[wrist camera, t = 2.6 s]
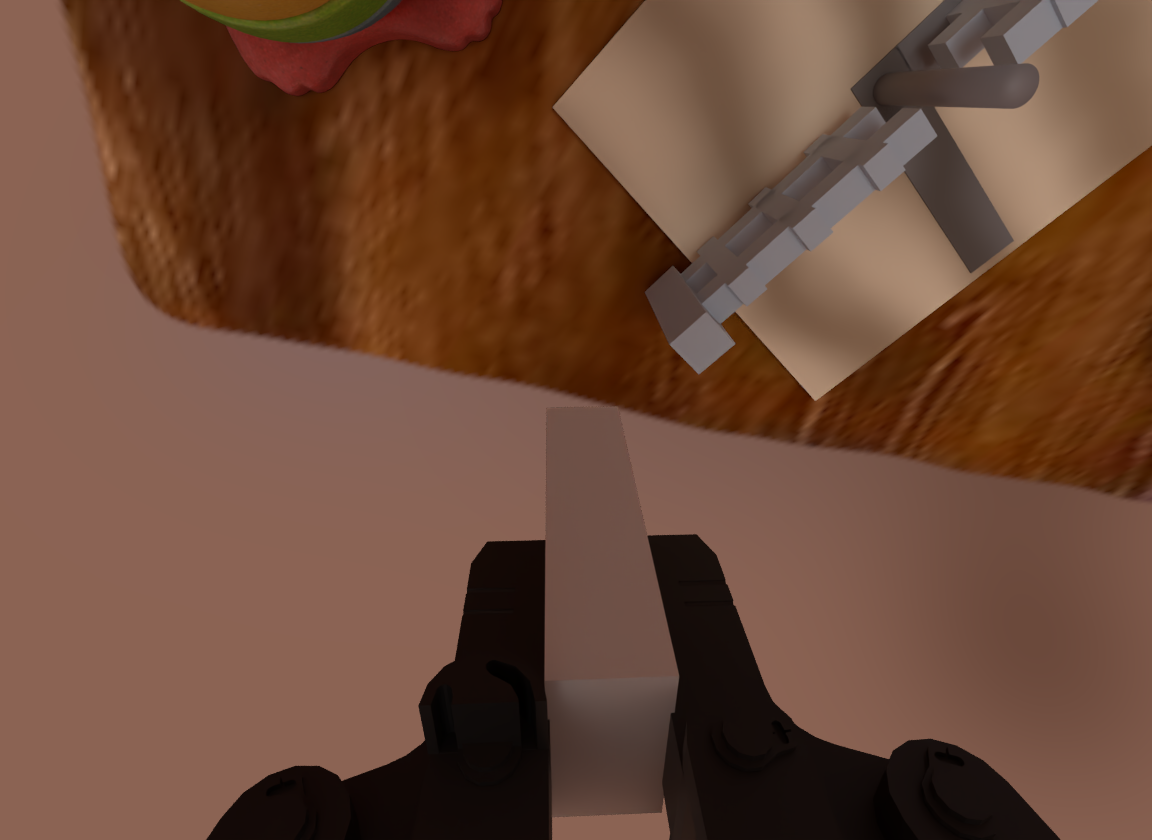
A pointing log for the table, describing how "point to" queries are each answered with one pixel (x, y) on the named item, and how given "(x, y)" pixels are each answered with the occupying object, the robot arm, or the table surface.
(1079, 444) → the table surface
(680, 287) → the gray castle wall
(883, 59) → the board
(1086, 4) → the fixed fence panel
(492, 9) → the stacking bear
